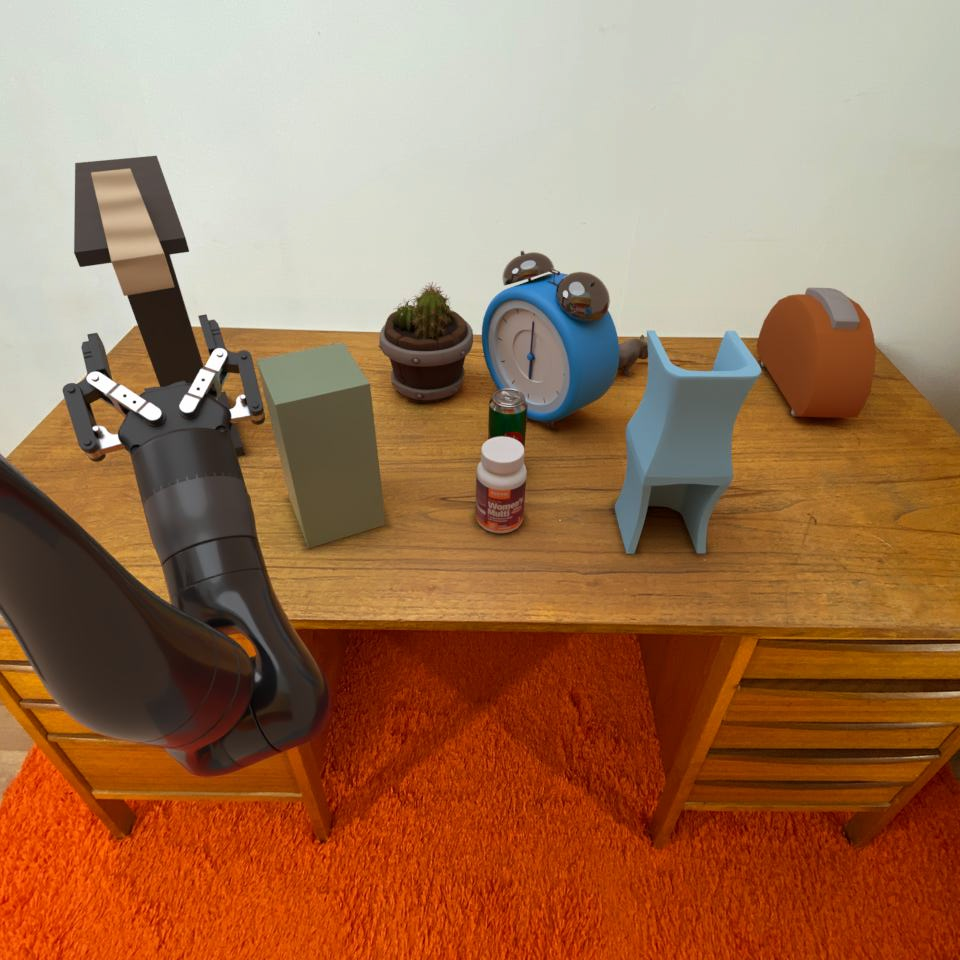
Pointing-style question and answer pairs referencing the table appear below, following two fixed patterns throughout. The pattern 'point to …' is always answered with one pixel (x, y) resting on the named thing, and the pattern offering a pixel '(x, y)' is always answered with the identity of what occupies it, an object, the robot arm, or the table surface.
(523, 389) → the alarm clock
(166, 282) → the ash stick
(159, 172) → the stand
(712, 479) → the blue doll chair
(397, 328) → the flowerpot
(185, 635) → the robot arm
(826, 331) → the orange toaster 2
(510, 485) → the pill bottle
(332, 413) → the green block
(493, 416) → the soda can
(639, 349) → the rhino figurine
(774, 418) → the table surface
